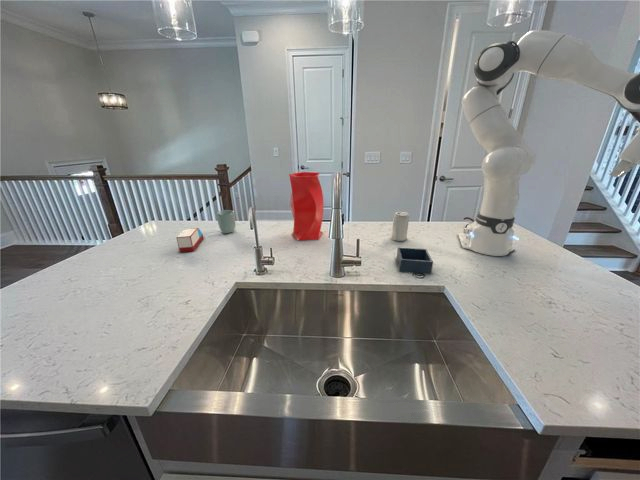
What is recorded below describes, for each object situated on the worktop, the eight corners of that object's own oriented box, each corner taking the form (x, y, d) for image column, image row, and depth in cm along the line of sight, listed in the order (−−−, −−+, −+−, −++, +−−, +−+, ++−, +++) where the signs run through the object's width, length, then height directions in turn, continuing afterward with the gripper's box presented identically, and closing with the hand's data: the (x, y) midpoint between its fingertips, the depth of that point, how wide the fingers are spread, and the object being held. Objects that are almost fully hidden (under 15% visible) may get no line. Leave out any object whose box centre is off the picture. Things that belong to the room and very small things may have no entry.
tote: (396, 258, 98) (397, 247, 96) (424, 260, 96) (426, 249, 94) (399, 271, 88) (401, 259, 86) (431, 273, 87) (433, 261, 85)
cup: (216, 234, 124) (213, 214, 120) (225, 228, 131) (221, 209, 127) (232, 235, 123) (228, 214, 119) (239, 229, 130) (236, 210, 126)
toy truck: (203, 237, 120) (200, 224, 117) (193, 251, 106) (190, 236, 103) (191, 238, 119) (188, 225, 117) (179, 252, 105) (175, 237, 103)
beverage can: (396, 235, 119) (398, 210, 115) (409, 239, 115) (412, 213, 110) (388, 239, 115) (391, 213, 111) (401, 243, 111) (404, 216, 106)
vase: (313, 228, 130) (312, 171, 119) (330, 236, 119) (330, 174, 108) (286, 234, 122) (282, 174, 112) (301, 244, 111) (298, 178, 100)
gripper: (650, 130, 78) (609, 172, 86) (643, 121, 67) (596, 171, 75) (678, 137, 75) (632, 181, 82) (675, 129, 63) (623, 181, 71)
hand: (615, 176), depth 78 cm, fingers open, 8 cm apart
